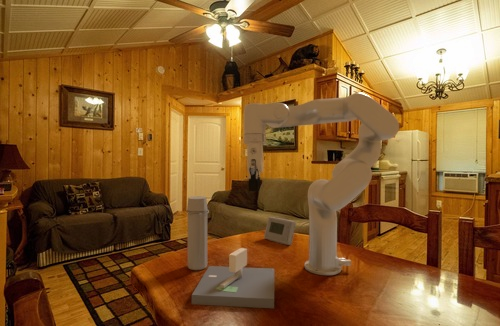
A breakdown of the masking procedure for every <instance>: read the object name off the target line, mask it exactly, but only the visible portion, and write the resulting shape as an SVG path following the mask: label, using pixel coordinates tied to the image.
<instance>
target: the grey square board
mask: <svg viewBox="0 0 500 326" xmlns="http://www.w3.org/2000/svg"><path fill="white" fill-rule="evenodd" d="M233 275H234V272H231V271H229V266H221V265H220V266H218V265H217V266H215V265H209V266H207V269H206V271H205V272H204V274H203V276H202V277H201V279H200V281H199V282H198V283H197V286H196V287H195V289H194V291H193V292H192V294H191V305H197V306H198V305H201V306H202V305H203V306H221V307H222V306H223V307H237V308H239V307H240V308H261V309H275V268H268V267H267V268H265V267H246V266H244V267H243V268H242V278H241V279H236V280H234V281H233V282H232V283H230V284H229V285H228V286H226V287H225V288H220V284H222V283H223V282H225V281H226V280H227V279H229V278H230V277H232V276H233Z"/></svg>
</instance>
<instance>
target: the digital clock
mask: <svg viewBox="0 0 500 326" xmlns="http://www.w3.org/2000/svg"><path fill="white" fill-rule="evenodd" d="M296 224H297V223H296V221H294V220H290V219H287V218H281V217H276V216H275V217H274V216H268V219H267V222H266V227H265V231H264V235H263V237H264V239H265V240H269V241H270V242H273V243H277V244H281V245H285V246H286V245H287V246H292V243H293V240H294V234H295V230H296Z"/></svg>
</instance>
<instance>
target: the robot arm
mask: <svg viewBox="0 0 500 326" xmlns="http://www.w3.org/2000/svg"><path fill="white" fill-rule="evenodd" d="M356 120H358V121H359V122H361V124H360V125H359V127H358V144H357V145H356V147H355V148H353V150H352V151H351V152H350V153H349V154H347V155H346V156H345V157H344V158H342V159H341V160H340V161H339V162H338V163H336V165H335V166H334V167H333V169H332V172H331V177H332V178H331V179H329V180H328V179H321V178H320V179H317V180H314V181H313V182H312V183H310V185H309V187H308V190H307V201H308V202H307V203H308V204H307V205H308V214H309V215H308V220H309V221H308V225H309V226H308V237H309V238H308V260H306V261H305V262H304V268H305V270H306V271H308V272H309V273H312V274H315V275H320V276H334V275H335V276H336V275H338V274H340V273H341V271H342V266H348V267H351V265H352V262H351V259H346V258H345V257H338V255H337V254H338V253H337V251H338V249H337V248H338V247H337V246H338V245H337V244H338V215H337V211H339V210H341V209H343V208H345V207H346V206H347V205H348V204H349V203H350V202H351V201H352V200H354V199H355V198H356V197H358V196H359V194H361V193H362V192H363V191H364V190H366V188H367V187H368V186H369V184H370V183H371V181H372V177H373V170H372V169H371V168H372V167H373V166H374V165H375V164H376V163H377V161H378V160H379V158H380V156H381V151H382V141H388V140H390V139H393V138H394V137H396V135H397V134H398V133H399V129H400V123H399V120H398V119H397V117H396V116H395V115H394V114H393V113H392V112H390V111H389V110H388V109H387V108H385V107H384V106H383V105H381V104H380V103H379V102H378V101H377V100H376V99H374V98H372V97H371V96H370V95H368V94H366V93H363V92H355V93H352V94H351V95H348V96H344V97H334V98H333V97H332V98H317V99H313V100H310V101H306V102H304V103H302V104H301V103H300V104H298V105H292V106H291V105H290V106H287V104H285V103H284V102H270V103H258V102H255V103H253V102H252V103H247V104H246V105H244V107H243V145H246V154H247V155H246V161H247V164H246V167H247V172H248V191H249V192H259V189H260V188H261V176H260V175H261V174H262V173H264V147H263V145H266V144H267V142H266V138H267V137H266V130H267V127H266V126H269V127H270V128H274V129H275V128H288V127H298V126H312V125H320V124H322V125H323V124H332V123H334V124H335V123H346V122H353V121H356Z"/></svg>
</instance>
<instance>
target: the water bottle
mask: <svg viewBox="0 0 500 326" xmlns="http://www.w3.org/2000/svg"><path fill="white" fill-rule="evenodd" d="M185 212H186V213H187V268H188V269H190V270H192V271H200V270H201V271H202V270H204V269H206V268H208V214H209V213H210V210H209V209H208V201H207V197H206V196H198V195H197V196H190V197H188V198H187V207H186V211H185Z"/></svg>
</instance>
